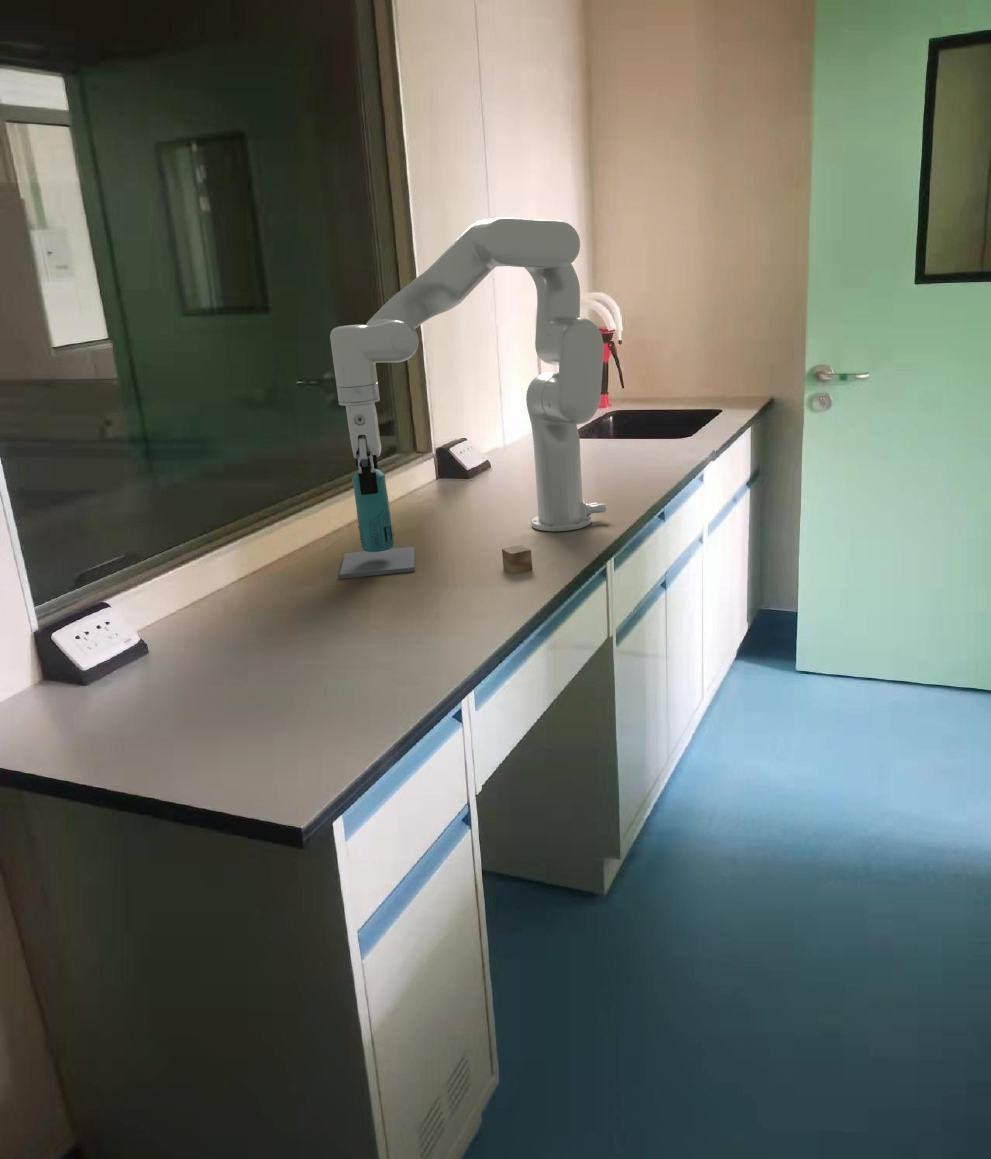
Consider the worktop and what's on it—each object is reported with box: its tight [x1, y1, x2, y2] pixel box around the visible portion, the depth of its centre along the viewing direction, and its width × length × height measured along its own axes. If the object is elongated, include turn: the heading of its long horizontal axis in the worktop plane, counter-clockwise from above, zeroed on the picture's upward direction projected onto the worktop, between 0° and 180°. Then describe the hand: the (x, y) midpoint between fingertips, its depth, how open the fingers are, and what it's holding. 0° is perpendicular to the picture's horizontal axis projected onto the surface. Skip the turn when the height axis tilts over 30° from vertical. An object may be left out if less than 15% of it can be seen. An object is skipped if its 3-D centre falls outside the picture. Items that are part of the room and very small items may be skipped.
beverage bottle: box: [351, 454, 395, 552], centre depth 188 cm, size 6×7×20 cm
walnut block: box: [501, 544, 533, 575], centre depth 181 cm, size 4×4×4 cm
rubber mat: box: [339, 546, 416, 579], centre depth 191 cm, size 14×14×1 cm
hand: (370, 488), depth 187 cm, fingers closed on beverage bottle, 6 cm apart
